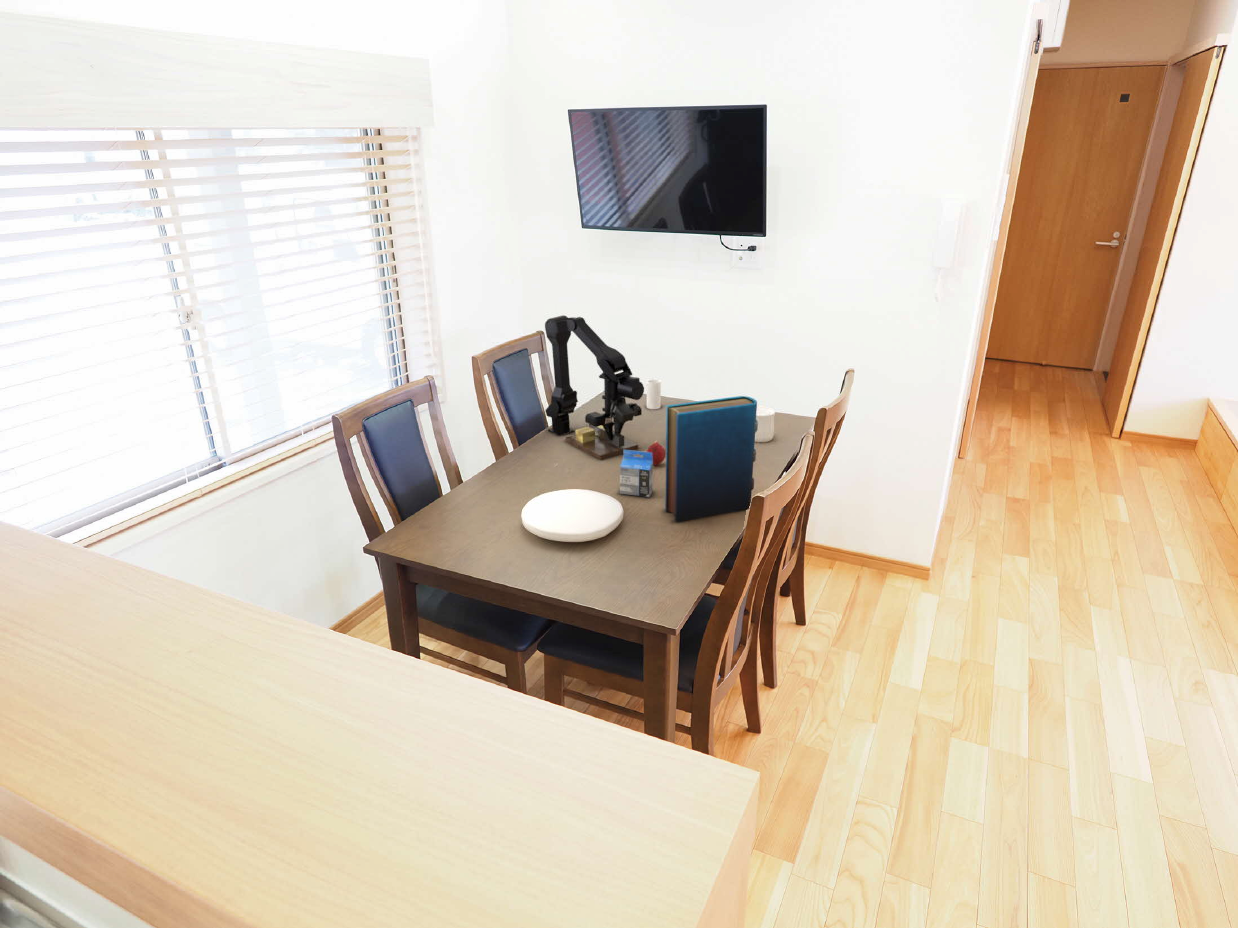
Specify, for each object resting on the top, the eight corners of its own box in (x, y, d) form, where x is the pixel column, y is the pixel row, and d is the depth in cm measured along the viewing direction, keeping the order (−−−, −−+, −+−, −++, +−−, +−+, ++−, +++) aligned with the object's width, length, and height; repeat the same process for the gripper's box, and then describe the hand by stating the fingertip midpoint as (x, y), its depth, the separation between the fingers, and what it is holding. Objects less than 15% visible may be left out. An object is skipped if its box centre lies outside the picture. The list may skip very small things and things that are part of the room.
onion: (659, 470, 238) (659, 446, 235) (643, 466, 241) (643, 442, 238) (668, 464, 243) (669, 440, 240) (652, 460, 246) (652, 436, 243)
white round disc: (528, 485, 218) (624, 485, 218) (529, 507, 220) (624, 507, 220) (513, 521, 191) (622, 522, 191) (514, 546, 193) (622, 547, 193)
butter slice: (595, 434, 263) (594, 424, 261) (599, 433, 264) (599, 423, 262) (602, 438, 260) (601, 428, 258) (606, 436, 261) (606, 426, 260)
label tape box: (619, 494, 223) (618, 454, 219) (623, 488, 227) (623, 449, 222) (649, 497, 221) (649, 457, 216) (653, 491, 225) (653, 452, 220)
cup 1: (647, 404, 295) (647, 379, 291) (660, 404, 295) (661, 379, 291) (646, 409, 290) (646, 383, 286) (660, 409, 290) (660, 383, 286)
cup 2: (751, 430, 269) (752, 403, 265) (778, 436, 264) (780, 408, 260) (738, 438, 262) (740, 411, 258) (766, 445, 257) (768, 416, 253)
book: (741, 495, 222) (747, 392, 210) (757, 507, 215) (763, 402, 203) (663, 508, 215) (664, 404, 203) (676, 522, 207) (677, 414, 195)
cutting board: (565, 441, 261) (564, 427, 259) (602, 431, 269) (601, 417, 267) (600, 460, 246) (600, 445, 245) (638, 448, 255) (638, 434, 253)
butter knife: (624, 445, 252) (624, 435, 251) (618, 447, 251) (618, 437, 249) (592, 430, 265) (592, 420, 264) (586, 431, 264) (586, 421, 263)
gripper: (604, 405, 237) (605, 453, 243) (652, 394, 247) (652, 440, 253) (583, 396, 245) (584, 443, 251) (631, 385, 255) (631, 430, 261)
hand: (614, 439), depth 254 cm, fingers closed on butter knife, 2 cm apart
